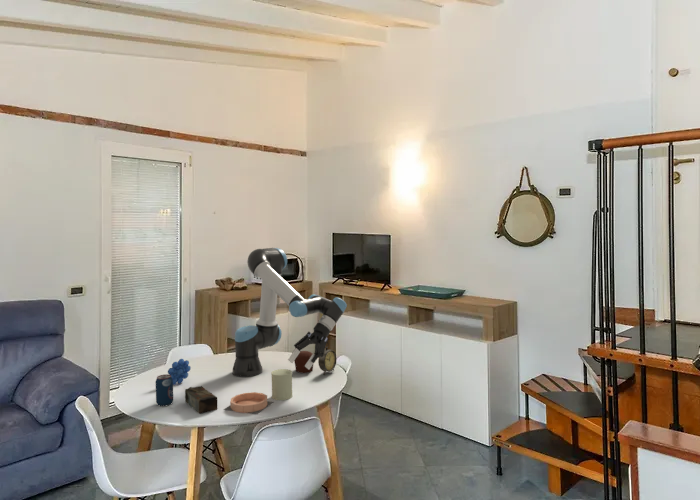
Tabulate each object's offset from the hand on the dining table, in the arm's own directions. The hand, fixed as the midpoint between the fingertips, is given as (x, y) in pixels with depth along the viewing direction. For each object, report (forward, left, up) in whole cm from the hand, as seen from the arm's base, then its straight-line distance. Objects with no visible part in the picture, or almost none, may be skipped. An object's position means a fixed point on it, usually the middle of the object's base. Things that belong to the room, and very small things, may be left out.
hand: (298, 364), depth 212 cm
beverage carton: (-33, -27, -14) cm, 44 cm away
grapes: (-62, -5, -13) cm, 64 cm away
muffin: (-12, +32, -13) cm, 36 cm away
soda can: (-49, -29, -13) cm, 59 cm away
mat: (-12, -21, -13) cm, 28 cm away
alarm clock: (+1, +32, -13) cm, 34 cm away
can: (-4, -7, -13) cm, 16 cm away
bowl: (-12, -21, -12) cm, 28 cm away
